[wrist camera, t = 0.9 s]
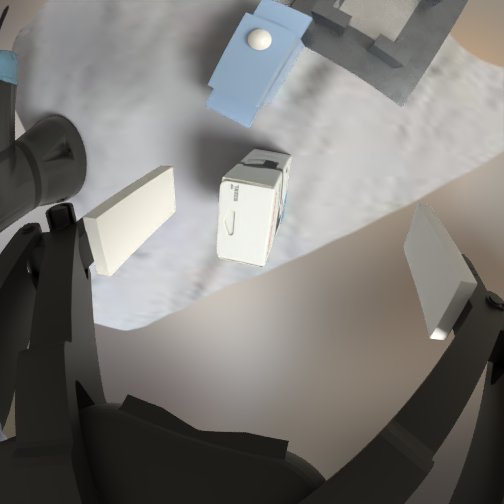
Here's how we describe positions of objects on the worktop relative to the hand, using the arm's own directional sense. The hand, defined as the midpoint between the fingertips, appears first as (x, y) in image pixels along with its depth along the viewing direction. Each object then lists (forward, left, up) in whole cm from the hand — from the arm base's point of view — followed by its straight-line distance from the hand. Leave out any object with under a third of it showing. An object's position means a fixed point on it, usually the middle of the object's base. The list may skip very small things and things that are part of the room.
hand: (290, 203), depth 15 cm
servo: (-9, +5, -21) cm, 23 cm away
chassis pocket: (-2, +19, -21) cm, 28 cm away
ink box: (-2, -8, -21) cm, 22 cm away
